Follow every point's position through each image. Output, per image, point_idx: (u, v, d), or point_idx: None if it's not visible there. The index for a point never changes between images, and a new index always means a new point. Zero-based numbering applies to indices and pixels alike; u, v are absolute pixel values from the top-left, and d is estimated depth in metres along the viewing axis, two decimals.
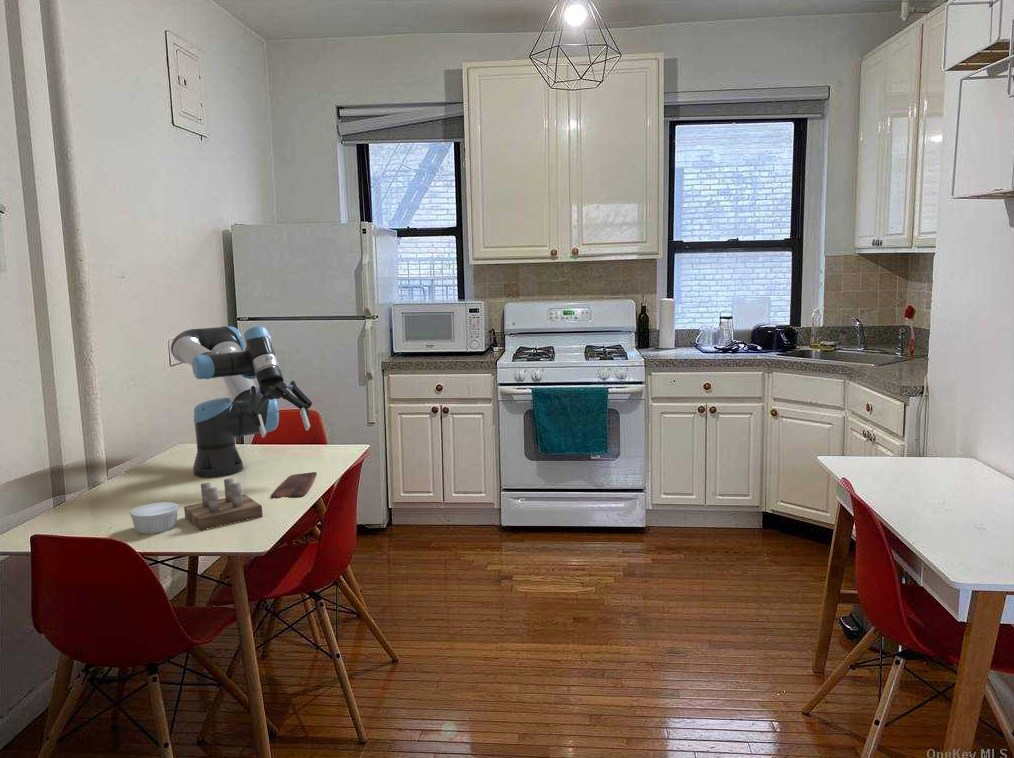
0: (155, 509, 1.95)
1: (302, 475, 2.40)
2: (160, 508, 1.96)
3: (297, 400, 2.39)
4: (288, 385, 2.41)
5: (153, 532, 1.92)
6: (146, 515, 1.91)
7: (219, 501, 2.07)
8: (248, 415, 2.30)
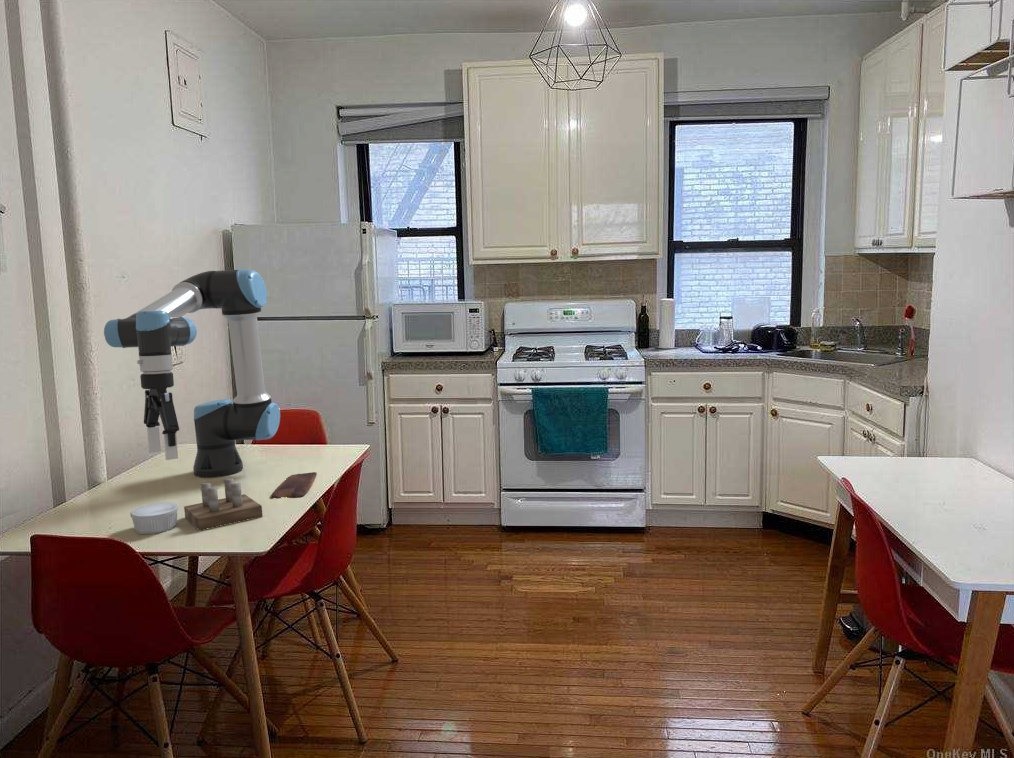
0: (155, 509, 1.95)
1: (302, 475, 2.40)
2: (160, 508, 1.96)
3: (162, 421, 1.90)
4: None
5: (153, 532, 1.92)
6: (146, 515, 1.91)
7: (219, 501, 2.07)
8: None
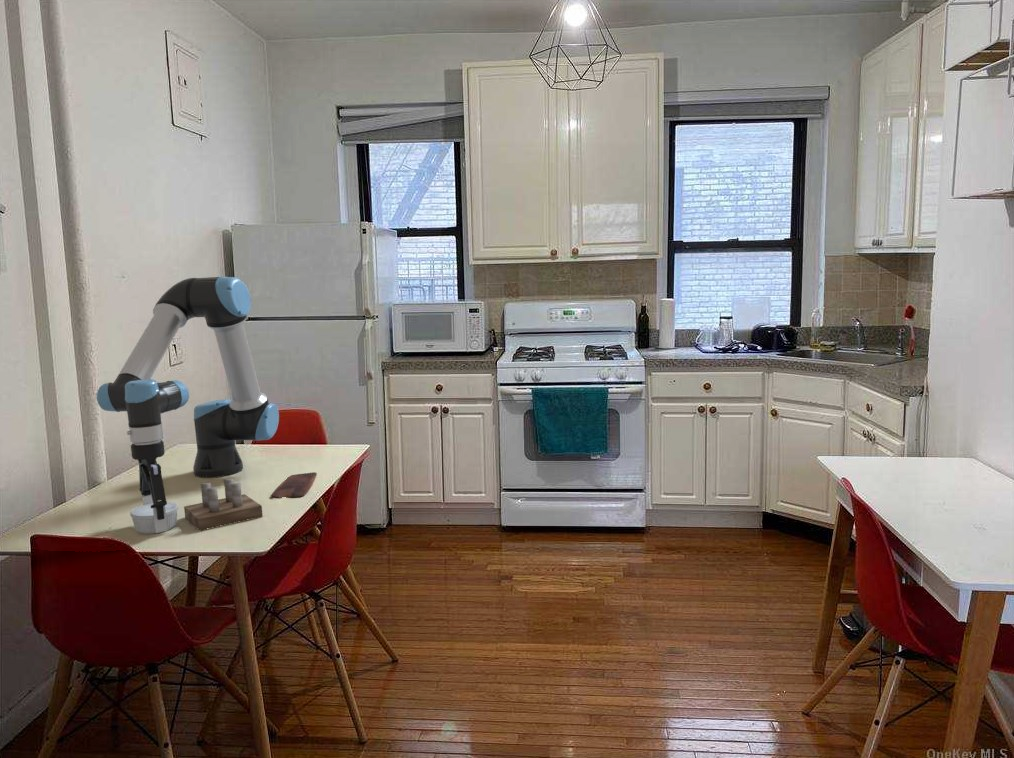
0: None
1: (302, 475, 2.40)
2: None
3: (151, 494, 1.90)
4: None
5: (153, 532, 1.92)
6: (146, 515, 1.91)
7: (219, 501, 2.07)
8: None
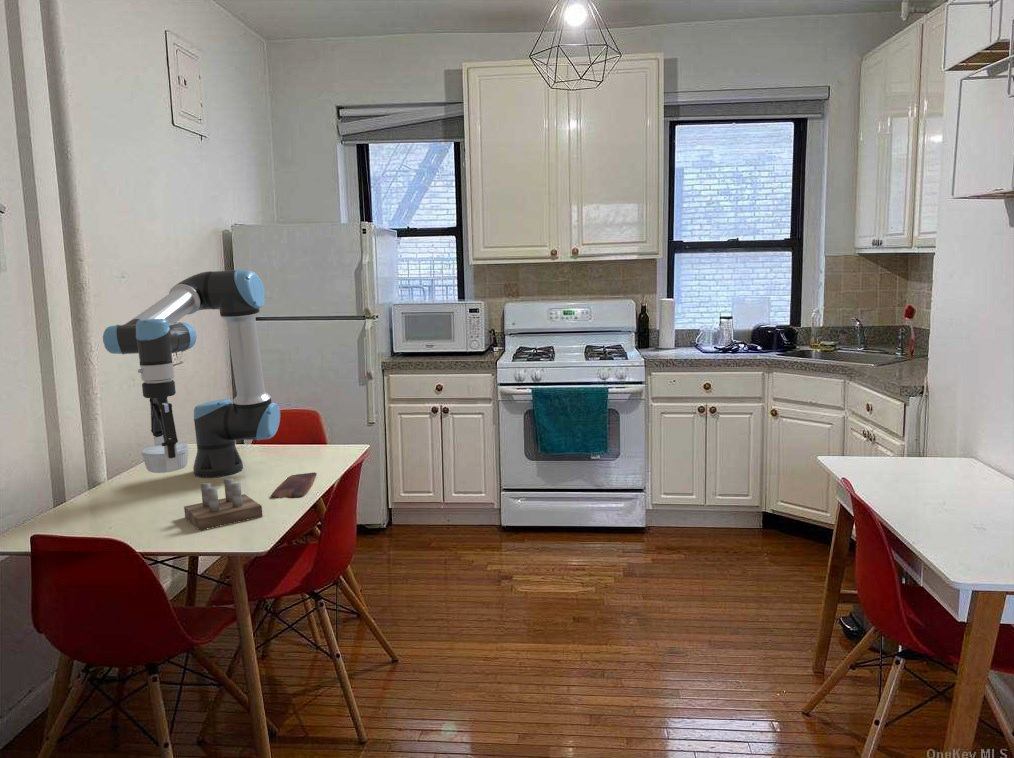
0: None
1: (302, 475, 2.40)
2: None
3: (162, 432, 1.90)
4: None
5: (164, 470, 1.92)
6: (157, 453, 1.91)
7: (219, 501, 2.07)
8: None
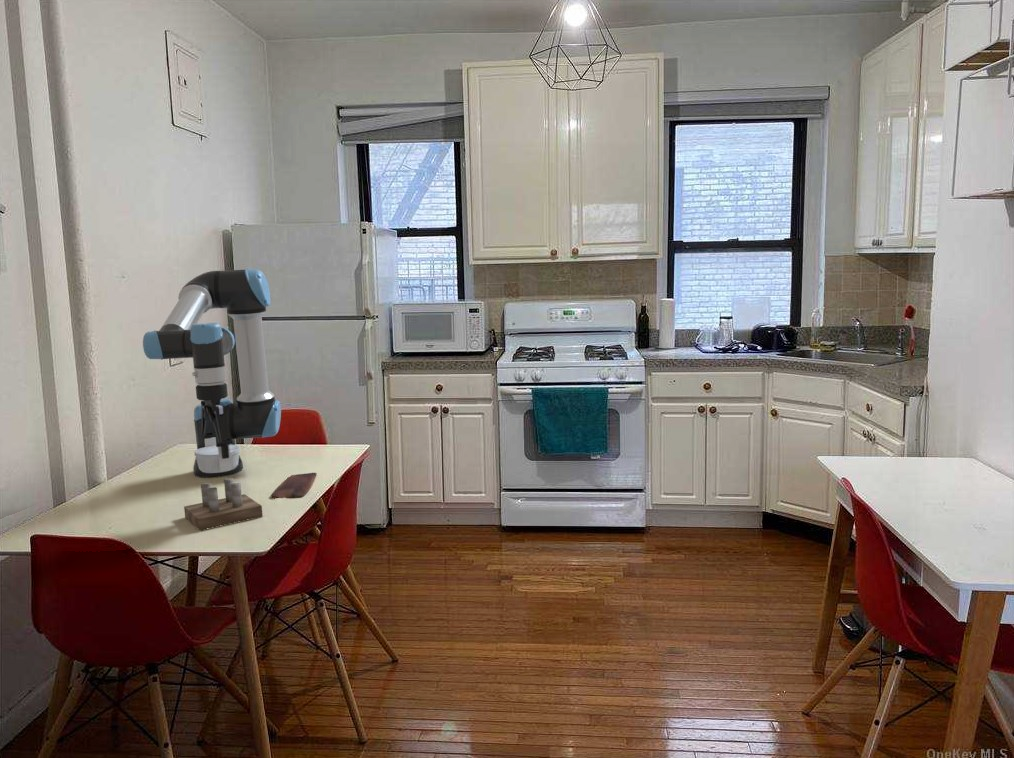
0: None
1: (302, 475, 2.40)
2: None
3: (216, 433, 1.95)
4: None
5: (217, 471, 1.97)
6: (211, 454, 1.96)
7: (219, 501, 2.07)
8: None
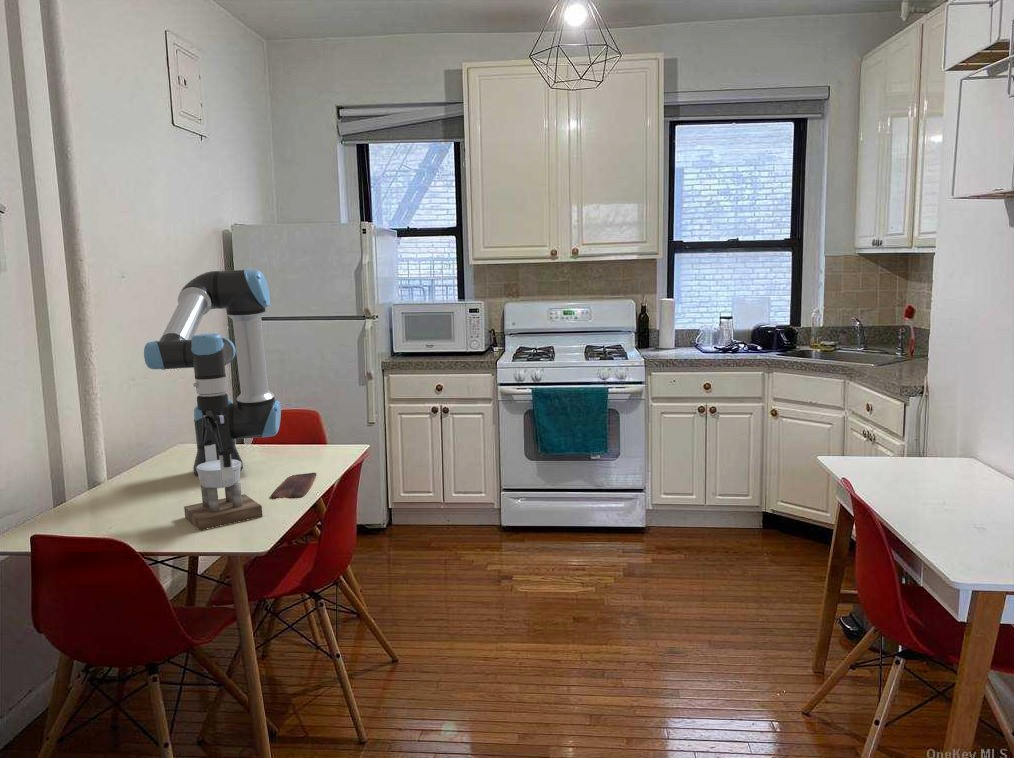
0: None
1: (302, 475, 2.40)
2: None
3: (218, 443, 1.95)
4: None
5: (219, 486, 1.98)
6: (212, 470, 1.97)
7: (219, 501, 2.07)
8: None
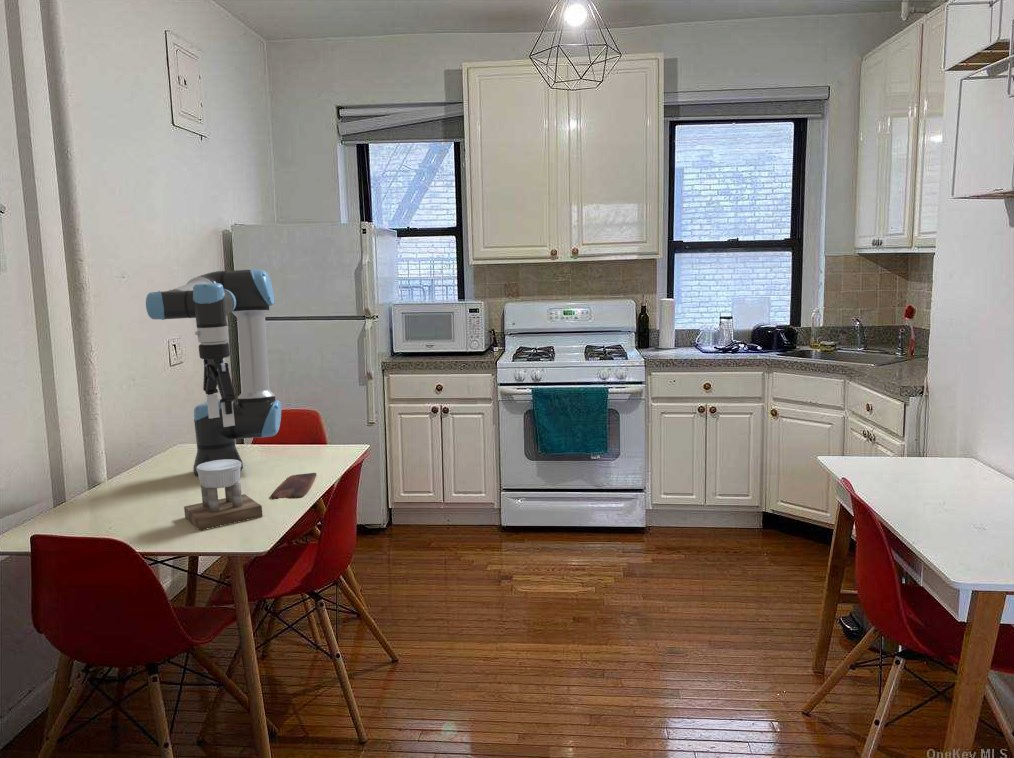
0: (220, 465, 2.01)
1: (302, 476, 2.40)
2: (224, 464, 2.02)
3: (219, 390, 1.99)
4: None
5: (219, 486, 1.98)
6: (212, 470, 1.97)
7: (219, 501, 2.07)
8: None
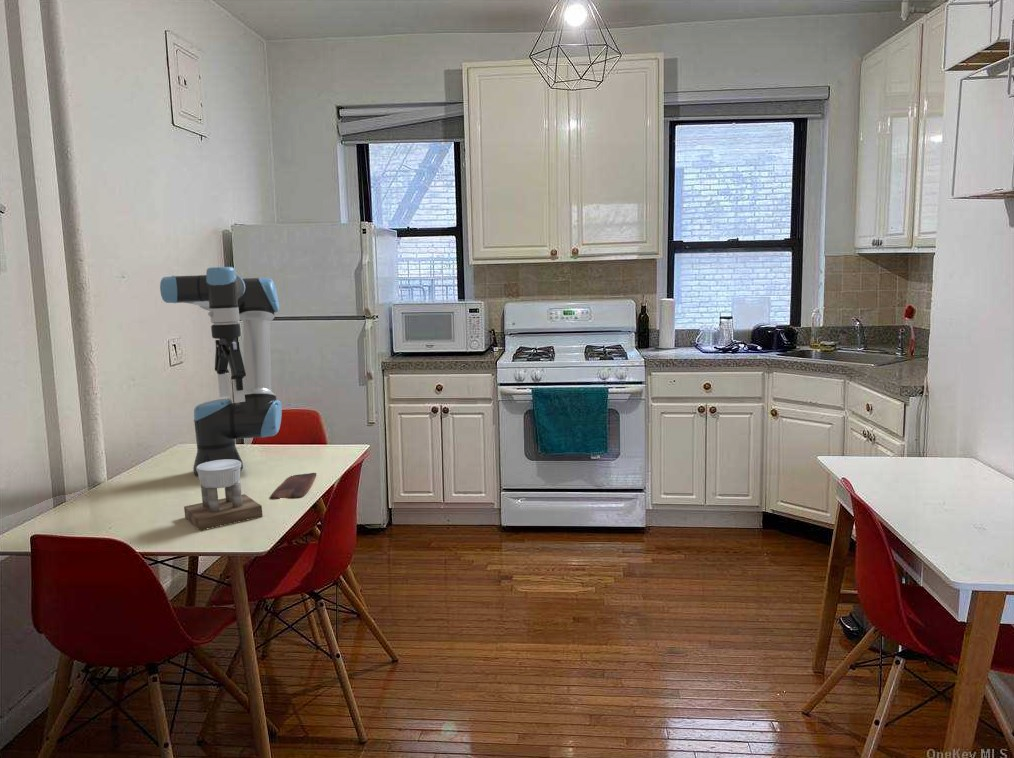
0: (220, 465, 2.01)
1: (302, 476, 2.40)
2: (224, 464, 2.02)
3: (231, 368, 2.09)
4: None
5: (219, 486, 1.98)
6: (212, 470, 1.97)
7: (219, 501, 2.07)
8: None
